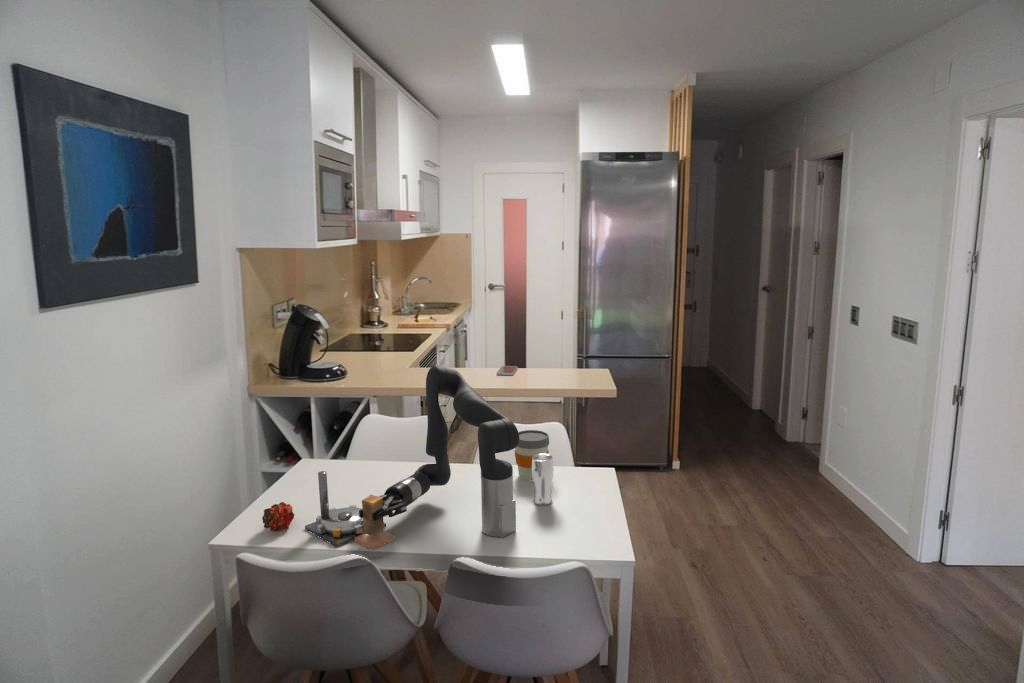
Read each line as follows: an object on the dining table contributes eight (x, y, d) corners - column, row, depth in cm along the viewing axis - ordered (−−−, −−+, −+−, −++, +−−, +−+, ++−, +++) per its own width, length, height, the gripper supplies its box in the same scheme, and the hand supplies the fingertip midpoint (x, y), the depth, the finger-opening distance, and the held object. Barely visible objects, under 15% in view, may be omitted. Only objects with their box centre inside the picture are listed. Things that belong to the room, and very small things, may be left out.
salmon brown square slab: (394, 539, 195) (394, 536, 195) (371, 549, 189) (371, 546, 189) (377, 531, 200) (377, 528, 200) (354, 540, 195) (354, 537, 194)
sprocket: (380, 511, 210) (378, 462, 207) (366, 537, 194) (363, 484, 191) (326, 511, 211) (323, 462, 208) (307, 536, 195) (303, 483, 192)
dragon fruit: (265, 543, 197) (287, 530, 209) (286, 528, 196) (308, 516, 207) (250, 518, 198) (273, 506, 210) (271, 503, 196) (293, 492, 208)
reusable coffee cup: (535, 485, 232) (535, 443, 230) (506, 477, 240) (506, 436, 237) (556, 474, 242) (556, 434, 239) (527, 466, 250) (527, 427, 247)
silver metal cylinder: (528, 503, 218) (527, 459, 215) (537, 495, 224) (537, 452, 221) (548, 507, 215) (547, 462, 212) (557, 499, 221) (557, 455, 218)
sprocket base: (386, 526, 203) (386, 523, 203) (337, 547, 191) (336, 543, 191) (353, 510, 215) (353, 507, 214) (305, 528, 202) (304, 525, 202)
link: (384, 530, 195) (382, 497, 193) (375, 536, 192) (373, 503, 190) (372, 527, 197) (371, 494, 195) (363, 533, 194) (361, 500, 192)
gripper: (384, 477, 208) (346, 498, 193) (422, 486, 202) (386, 508, 187) (385, 500, 210) (347, 523, 195) (423, 509, 203) (387, 533, 188)
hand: (366, 516), depth 191 cm, fingers closed on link, 4 cm apart
